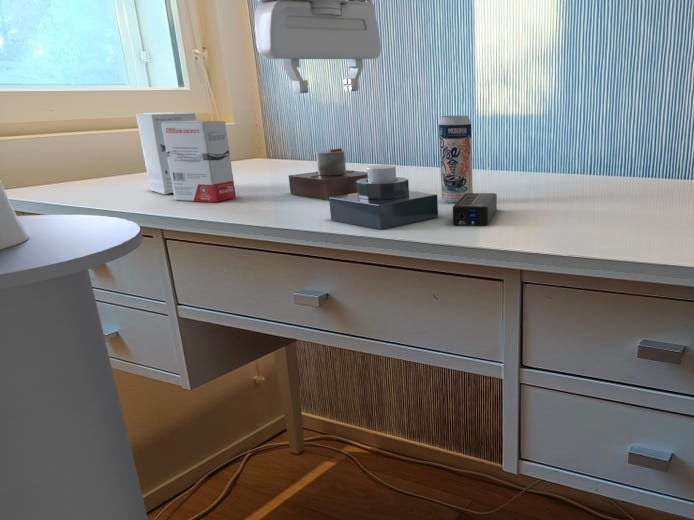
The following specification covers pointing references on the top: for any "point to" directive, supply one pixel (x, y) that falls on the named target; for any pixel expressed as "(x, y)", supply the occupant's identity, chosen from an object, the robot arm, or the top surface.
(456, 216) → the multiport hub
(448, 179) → the coffee can
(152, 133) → the white packaging box
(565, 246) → the top surface
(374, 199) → the push button base
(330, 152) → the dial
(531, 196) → the top surface
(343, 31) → the robot arm
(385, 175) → the white short cylinder
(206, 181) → the ink box
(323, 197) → the brown rectangular block
